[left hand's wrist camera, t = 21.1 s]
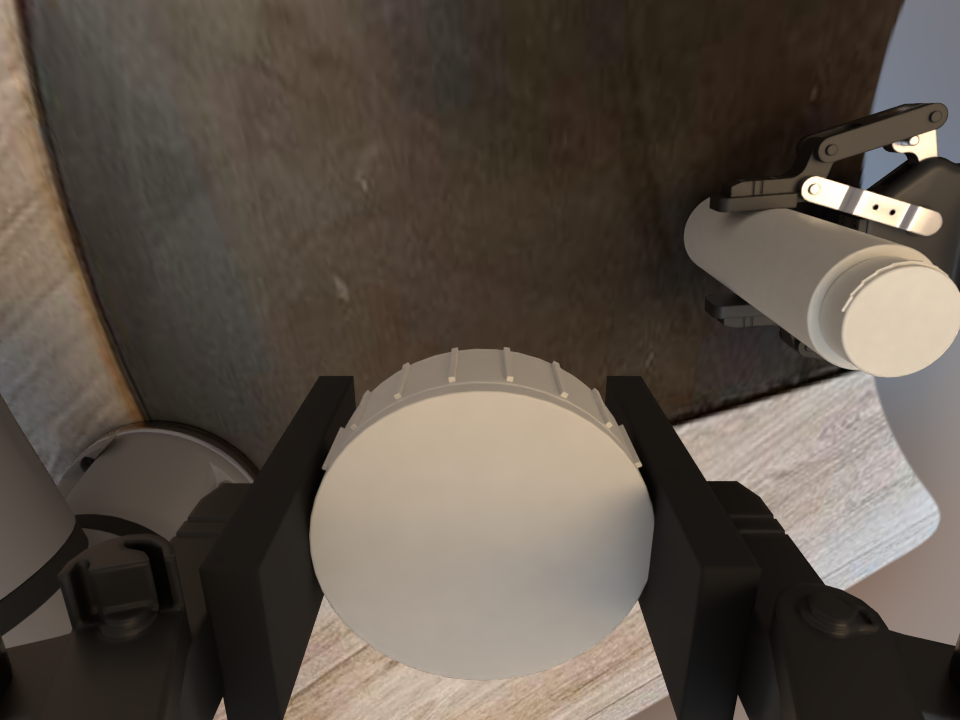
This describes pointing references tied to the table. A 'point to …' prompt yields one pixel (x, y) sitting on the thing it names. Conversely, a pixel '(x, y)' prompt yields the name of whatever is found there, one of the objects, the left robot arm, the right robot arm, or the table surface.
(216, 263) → the table surface
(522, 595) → the lid
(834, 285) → the jar
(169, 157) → the table surface
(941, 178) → the right robot arm
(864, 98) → the table surface
